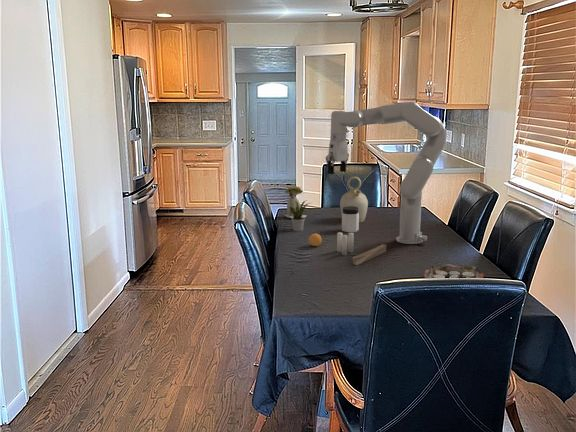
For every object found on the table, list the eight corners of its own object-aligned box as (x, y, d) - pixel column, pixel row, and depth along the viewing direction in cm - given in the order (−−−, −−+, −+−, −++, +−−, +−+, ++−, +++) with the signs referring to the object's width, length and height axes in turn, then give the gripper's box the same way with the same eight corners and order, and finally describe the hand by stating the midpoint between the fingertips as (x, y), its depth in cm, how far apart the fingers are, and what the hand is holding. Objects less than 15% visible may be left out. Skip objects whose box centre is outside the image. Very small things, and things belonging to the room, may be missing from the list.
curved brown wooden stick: (386, 251, 238) (386, 245, 237) (356, 265, 220) (357, 258, 219) (382, 250, 239) (382, 244, 238) (352, 264, 221) (352, 257, 221)
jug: (366, 223, 289) (367, 178, 283) (338, 223, 292) (338, 178, 286) (368, 217, 303) (369, 174, 298) (341, 216, 306) (341, 174, 301)
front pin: (343, 251, 240) (343, 233, 238) (340, 252, 238) (340, 234, 236) (339, 250, 241) (339, 232, 239) (336, 251, 240) (336, 233, 238)
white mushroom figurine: (293, 221, 298) (292, 188, 294) (280, 217, 308) (279, 185, 304) (309, 218, 305) (309, 186, 300) (296, 214, 315) (296, 183, 311)
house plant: (314, 226, 285) (314, 196, 281) (313, 233, 272) (313, 202, 268) (288, 226, 286) (287, 196, 283) (285, 232, 273) (285, 201, 269)
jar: (343, 232, 271) (343, 210, 268) (340, 228, 279) (340, 206, 276) (360, 231, 272) (361, 209, 270) (356, 228, 280) (356, 205, 277)
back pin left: (348, 254, 235) (348, 235, 233) (345, 255, 233) (345, 236, 232) (343, 253, 237) (343, 234, 235) (340, 254, 235) (340, 236, 233)
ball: (324, 245, 249) (324, 233, 248) (316, 248, 244) (316, 236, 243) (314, 243, 253) (313, 231, 251) (306, 246, 248) (306, 234, 247)
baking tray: (424, 270, 215) (424, 257, 213) (480, 273, 209) (481, 260, 208) (423, 296, 186) (423, 282, 185) (488, 301, 181) (489, 286, 180)
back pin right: (354, 251, 239) (354, 233, 237) (351, 252, 237) (351, 234, 235) (350, 250, 240) (350, 232, 239) (347, 251, 239) (347, 233, 237)
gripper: (333, 138, 244) (332, 175, 248) (355, 136, 256) (353, 171, 260) (320, 137, 249) (319, 173, 253) (342, 135, 261) (341, 170, 265)
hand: (336, 172), depth 257 cm, fingers open, 9 cm apart
